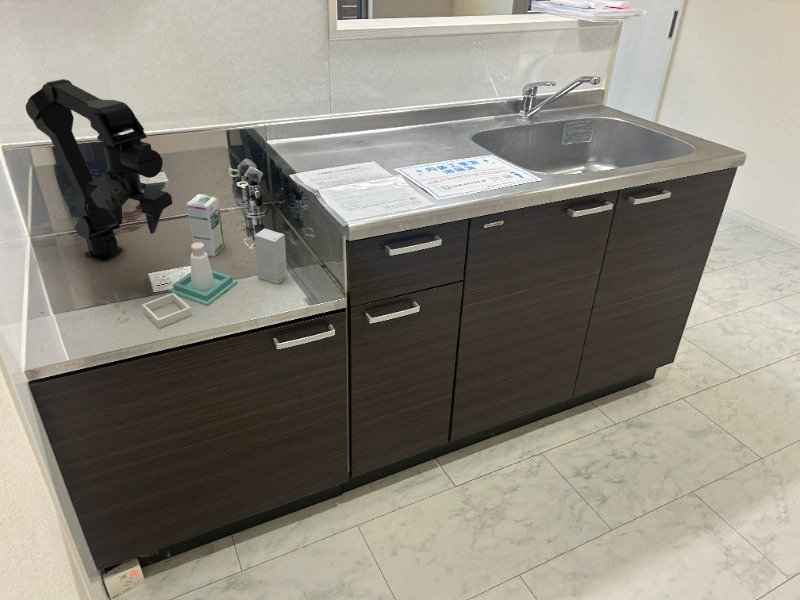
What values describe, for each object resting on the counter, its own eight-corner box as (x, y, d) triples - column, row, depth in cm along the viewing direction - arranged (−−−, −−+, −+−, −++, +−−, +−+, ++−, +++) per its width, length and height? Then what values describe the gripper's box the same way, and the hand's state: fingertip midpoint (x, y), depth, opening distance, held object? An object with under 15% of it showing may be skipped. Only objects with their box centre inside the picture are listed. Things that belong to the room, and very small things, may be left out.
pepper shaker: (199, 277, 145) (193, 237, 139) (219, 281, 144) (214, 241, 138) (186, 288, 141) (179, 248, 135) (207, 293, 140) (201, 252, 134)
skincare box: (287, 276, 149) (285, 234, 142) (277, 284, 146) (275, 241, 139) (267, 269, 151) (264, 227, 144) (257, 277, 148) (253, 235, 141)
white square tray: (143, 312, 134) (141, 304, 132) (175, 299, 138) (173, 292, 137) (159, 328, 129) (157, 320, 128) (191, 314, 134) (190, 307, 133)
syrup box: (215, 257, 154) (208, 206, 146) (193, 253, 155) (185, 202, 147) (224, 246, 159) (219, 196, 150) (203, 243, 159) (197, 192, 151)
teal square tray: (169, 292, 140) (168, 285, 139) (200, 270, 149) (199, 263, 148) (207, 306, 137) (206, 298, 136) (237, 282, 145) (236, 275, 144)
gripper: (58, 168, 125) (76, 234, 134) (132, 186, 120) (146, 254, 129) (98, 151, 133) (112, 214, 142) (168, 167, 129) (179, 231, 138)
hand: (136, 228), depth 138 cm, fingers open, 9 cm apart
